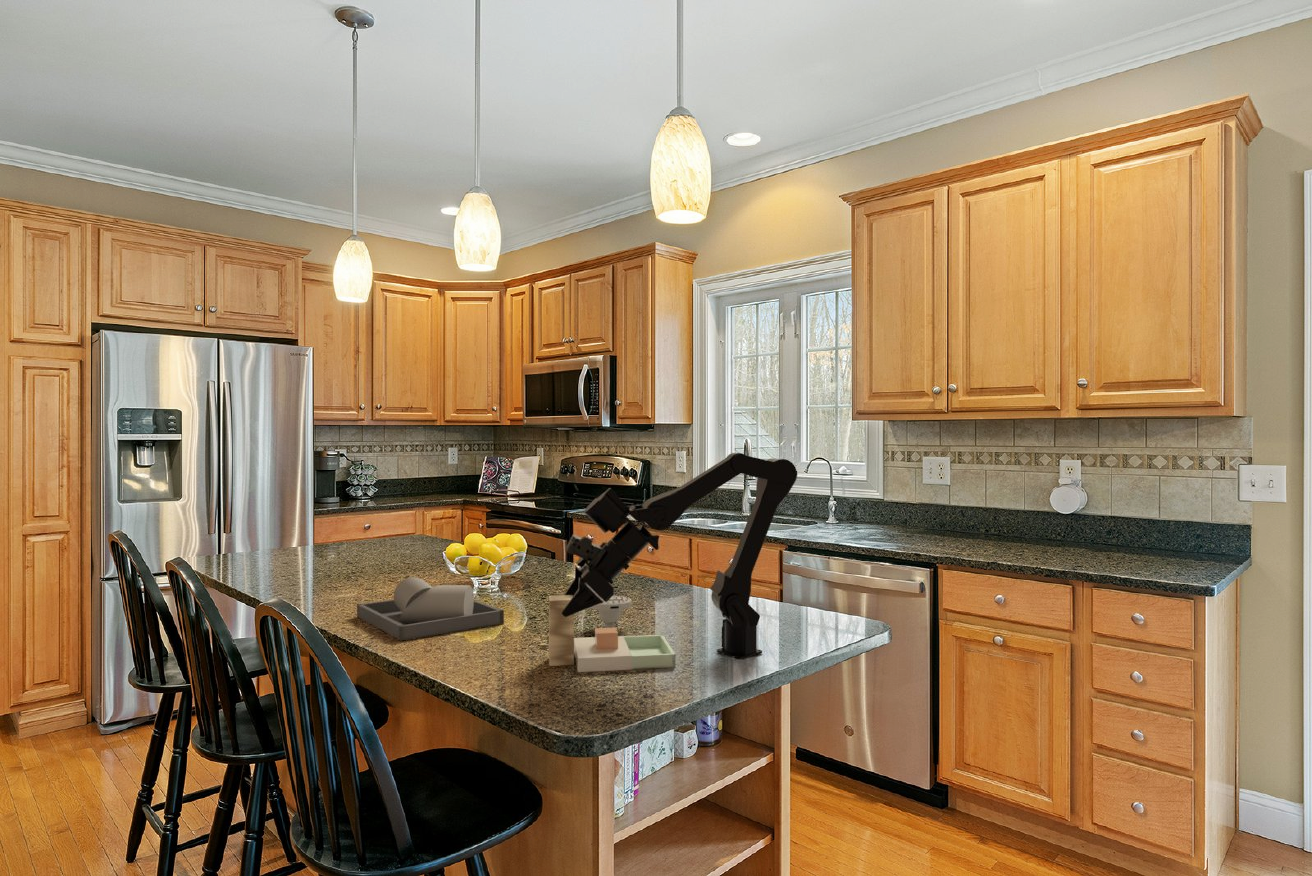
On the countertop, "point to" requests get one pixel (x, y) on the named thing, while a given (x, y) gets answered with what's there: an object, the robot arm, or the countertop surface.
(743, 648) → the robot arm
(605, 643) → the peach rectangular box
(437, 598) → the elbow connector
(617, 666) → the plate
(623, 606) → the showerhead
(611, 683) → the countertop surface
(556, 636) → the block
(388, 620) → the divided desk organizer
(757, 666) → the countertop surface
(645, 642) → the tray
